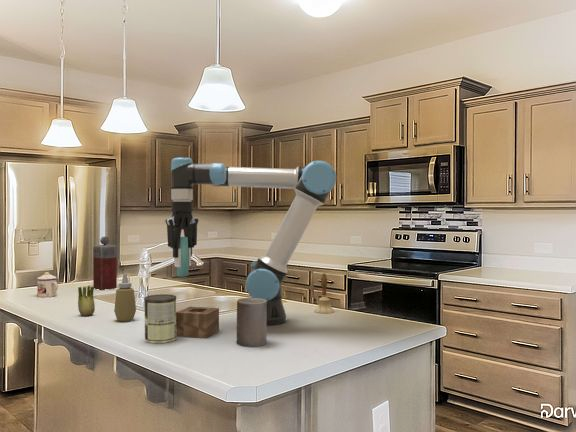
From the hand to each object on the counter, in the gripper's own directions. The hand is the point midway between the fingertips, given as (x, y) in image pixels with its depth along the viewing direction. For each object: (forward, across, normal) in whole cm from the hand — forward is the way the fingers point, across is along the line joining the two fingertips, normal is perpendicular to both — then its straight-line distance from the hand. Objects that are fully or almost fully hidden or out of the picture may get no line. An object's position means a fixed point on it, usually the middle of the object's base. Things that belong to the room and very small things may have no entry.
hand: (182, 266), depth 186 cm
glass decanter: (+22, -34, -106) cm, 114 cm away
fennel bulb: (+22, +10, -48) cm, 54 cm away
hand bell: (+23, -57, +22) cm, 66 cm away
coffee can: (+23, +15, +6) cm, 28 cm away
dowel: (+4, 0, 0) cm, 4 cm away
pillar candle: (+23, -1, +33) cm, 40 cm away
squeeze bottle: (+22, +5, -28) cm, 36 cm away
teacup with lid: (+22, -4, -105) cm, 107 cm away
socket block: (+22, +2, +10) cm, 25 cm away
